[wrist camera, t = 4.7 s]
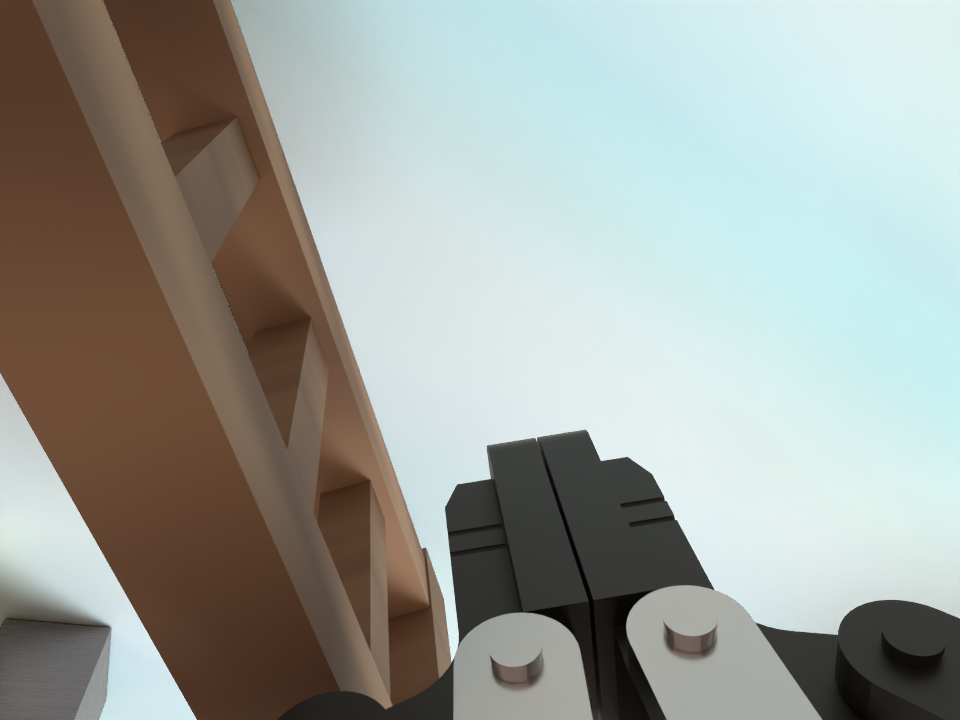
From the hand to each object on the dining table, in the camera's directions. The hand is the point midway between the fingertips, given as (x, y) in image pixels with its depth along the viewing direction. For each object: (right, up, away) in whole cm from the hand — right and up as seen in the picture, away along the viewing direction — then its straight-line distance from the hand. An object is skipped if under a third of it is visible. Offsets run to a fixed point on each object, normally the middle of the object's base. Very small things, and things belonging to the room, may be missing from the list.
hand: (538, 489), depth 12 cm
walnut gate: (-4, +3, +4) cm, 7 cm away
